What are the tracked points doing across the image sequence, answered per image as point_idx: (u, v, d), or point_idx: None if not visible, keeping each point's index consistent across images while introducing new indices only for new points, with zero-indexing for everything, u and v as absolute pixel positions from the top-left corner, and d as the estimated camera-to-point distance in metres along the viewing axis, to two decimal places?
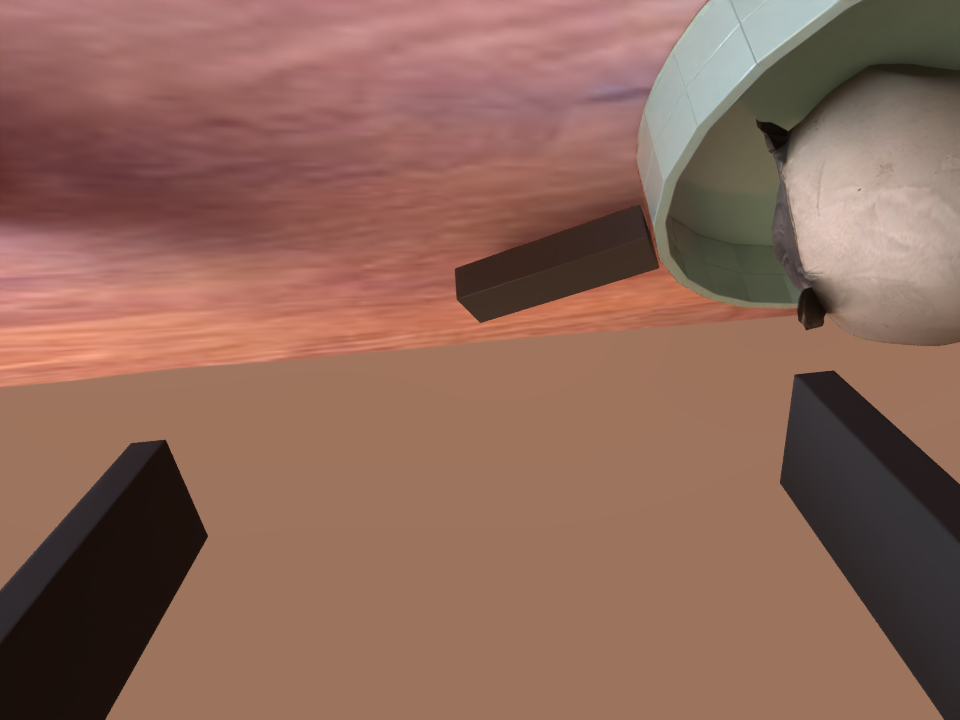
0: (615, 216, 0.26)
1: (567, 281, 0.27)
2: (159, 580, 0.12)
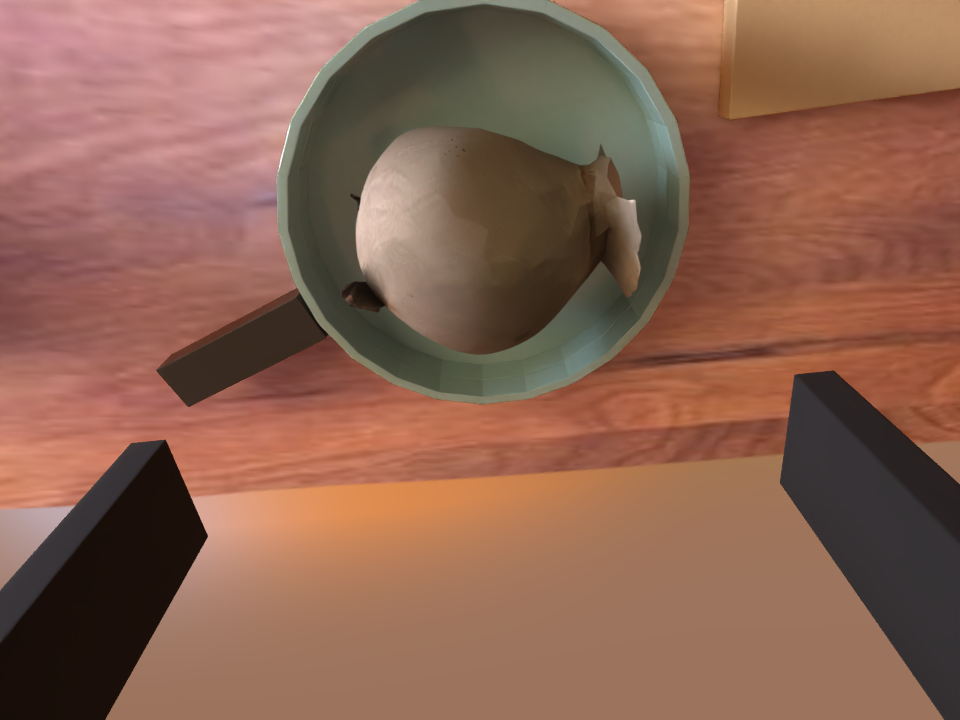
0: (287, 294, 0.31)
1: (248, 351, 0.31)
2: (159, 580, 0.12)
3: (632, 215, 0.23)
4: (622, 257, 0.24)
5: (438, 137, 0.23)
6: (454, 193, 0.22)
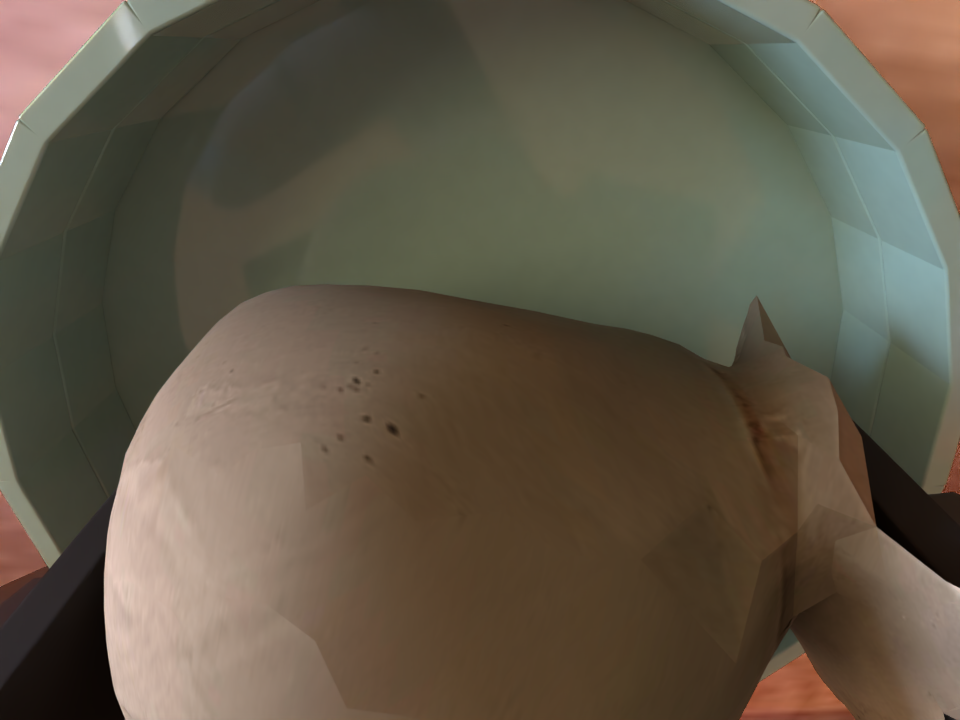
0: None
1: None
2: None
3: None
4: (862, 666, 0.09)
5: (314, 361, 0.07)
6: (350, 612, 0.06)
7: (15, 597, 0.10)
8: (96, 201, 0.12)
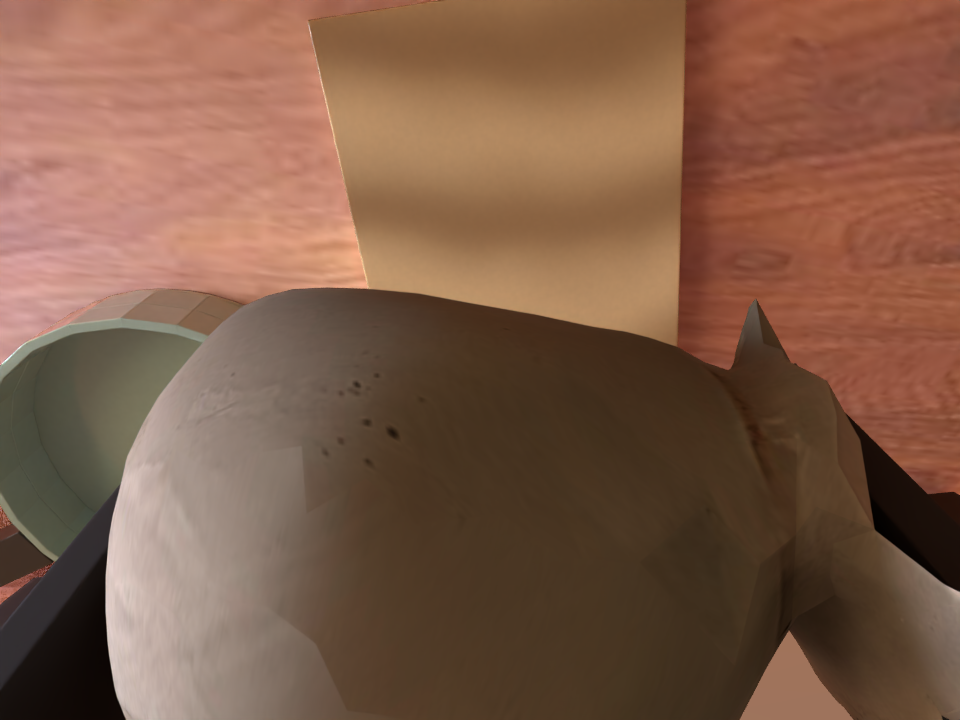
0: None
1: None
2: None
3: (958, 636, 0.07)
4: (861, 669, 0.09)
5: (315, 365, 0.07)
6: (351, 615, 0.06)
7: (15, 597, 0.10)
8: (25, 379, 0.31)
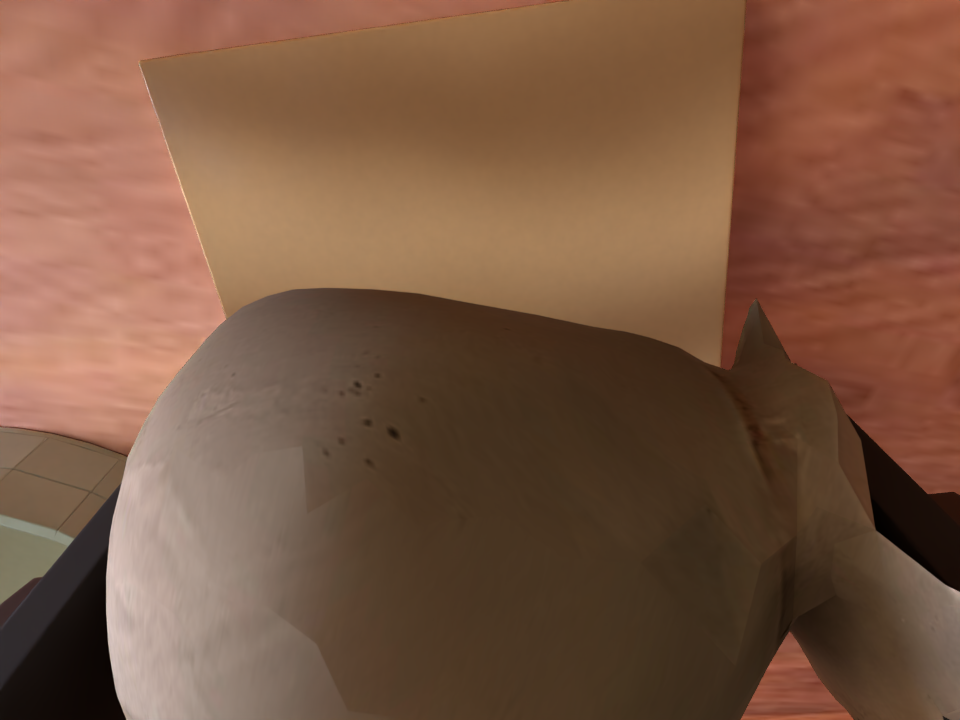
0: None
1: None
2: None
3: (959, 637, 0.07)
4: (862, 669, 0.09)
5: (316, 366, 0.07)
6: (351, 616, 0.06)
7: (15, 597, 0.10)
8: None
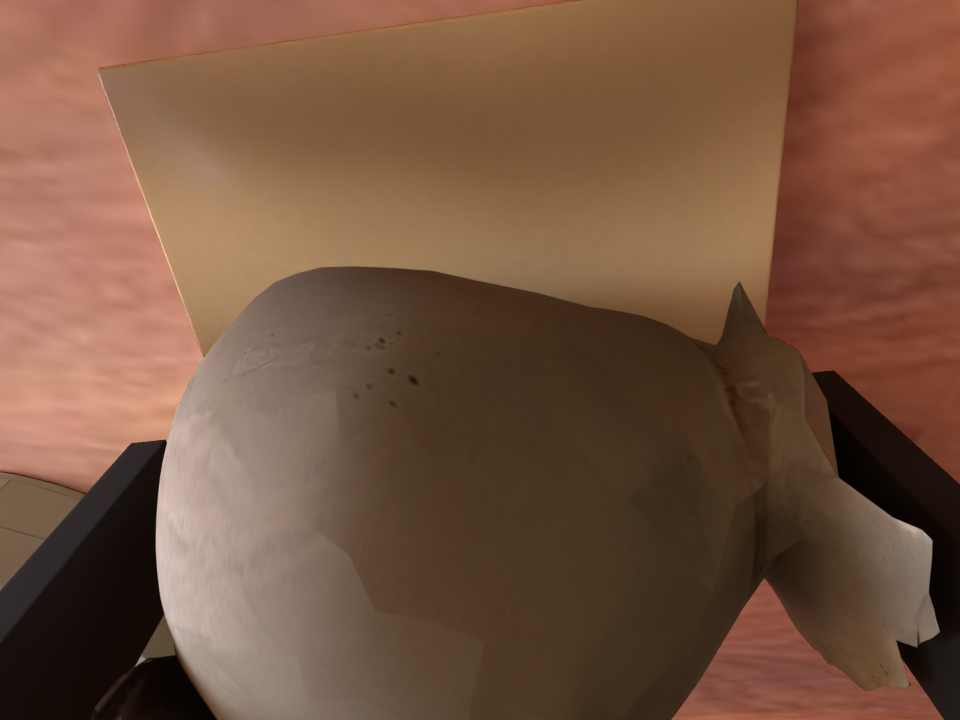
0: None
1: None
2: None
3: (905, 563, 0.08)
4: (829, 607, 0.10)
5: (344, 326, 0.08)
6: (378, 531, 0.07)
7: None
8: None
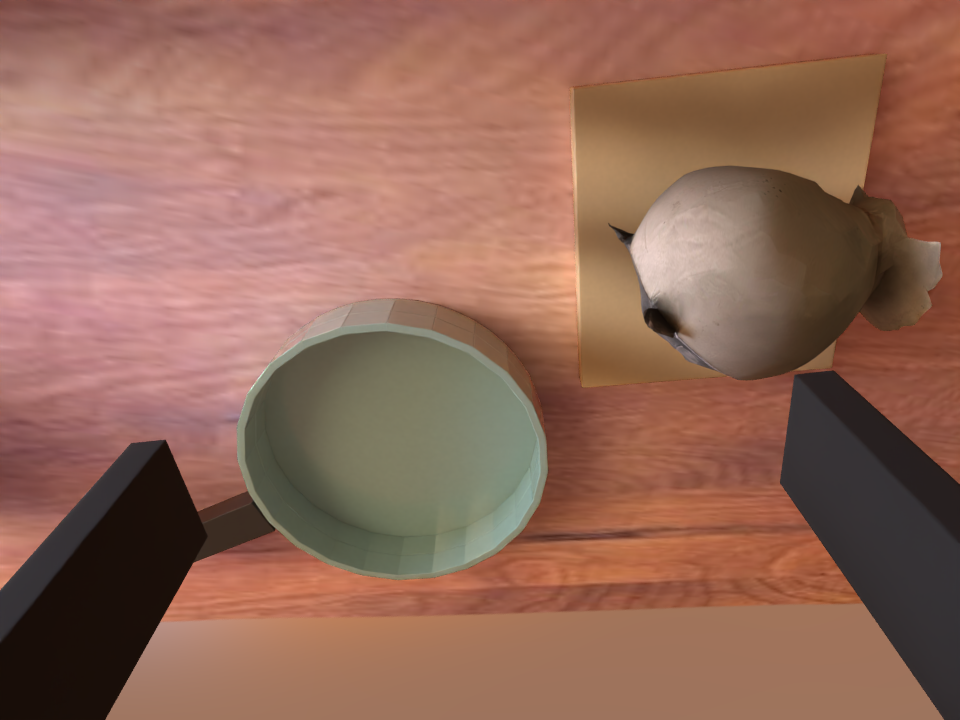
0: (246, 492, 0.40)
1: (214, 537, 0.40)
2: (159, 580, 0.12)
3: (931, 256, 0.24)
4: (901, 294, 0.26)
5: (750, 177, 0.24)
6: (777, 230, 0.23)
7: None
8: None
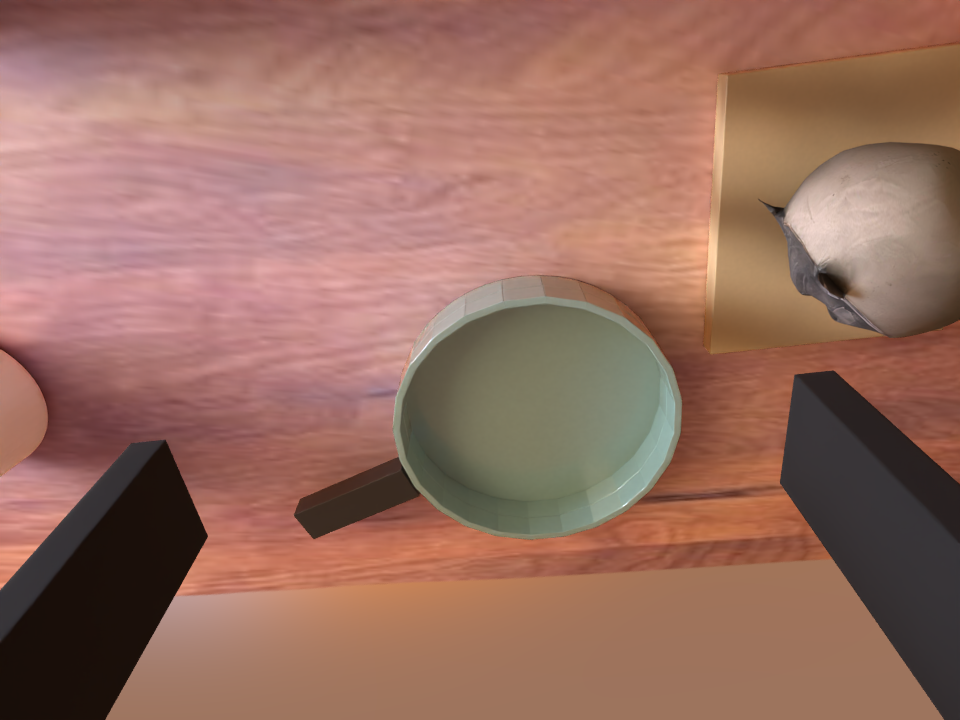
0: (390, 461, 0.43)
1: (362, 504, 0.43)
2: (159, 580, 0.12)
3: None
4: None
5: (917, 151, 0.27)
6: (950, 198, 0.26)
7: None
8: None
